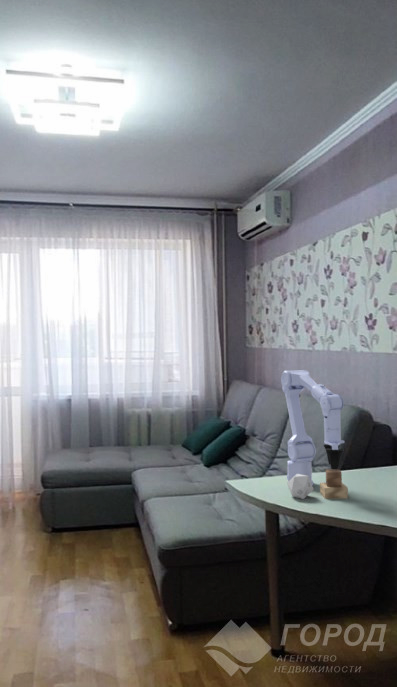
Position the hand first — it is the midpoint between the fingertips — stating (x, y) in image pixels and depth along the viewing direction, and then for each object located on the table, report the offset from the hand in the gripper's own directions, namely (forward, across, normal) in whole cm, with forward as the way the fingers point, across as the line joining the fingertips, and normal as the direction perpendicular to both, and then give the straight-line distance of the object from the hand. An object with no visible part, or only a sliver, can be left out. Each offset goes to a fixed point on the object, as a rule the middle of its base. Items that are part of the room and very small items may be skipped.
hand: (333, 466), depth 202 cm
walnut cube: (+6, 0, 0) cm, 7 cm away
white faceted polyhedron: (+10, -3, +12) cm, 16 cm away
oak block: (+11, 0, 0) cm, 11 cm away
